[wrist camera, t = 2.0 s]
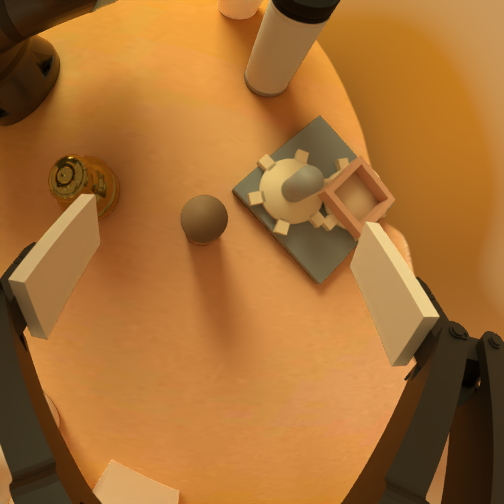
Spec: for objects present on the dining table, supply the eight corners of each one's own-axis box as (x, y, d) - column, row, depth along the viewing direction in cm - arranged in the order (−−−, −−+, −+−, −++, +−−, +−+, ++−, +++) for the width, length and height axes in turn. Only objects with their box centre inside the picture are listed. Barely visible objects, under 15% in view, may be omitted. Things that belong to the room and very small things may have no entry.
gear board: (229, 188, 39) (239, 170, 30) (313, 117, 41) (339, 89, 33) (315, 283, 41) (346, 290, 32) (387, 204, 43) (425, 195, 34)
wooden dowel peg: (178, 228, 38) (170, 217, 26) (202, 206, 38) (205, 185, 27) (200, 252, 38) (202, 252, 27) (224, 230, 39) (237, 219, 27)
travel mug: (296, 90, 41) (358, 3, 21) (255, 102, 40) (300, 6, 20) (277, 58, 40) (324, -36, 21) (236, 68, 39) (267, -34, 20)
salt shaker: (116, 158, 37) (94, 130, 27) (125, 214, 37) (103, 200, 27) (65, 174, 35) (32, 152, 25) (73, 229, 36) (38, 221, 26)
